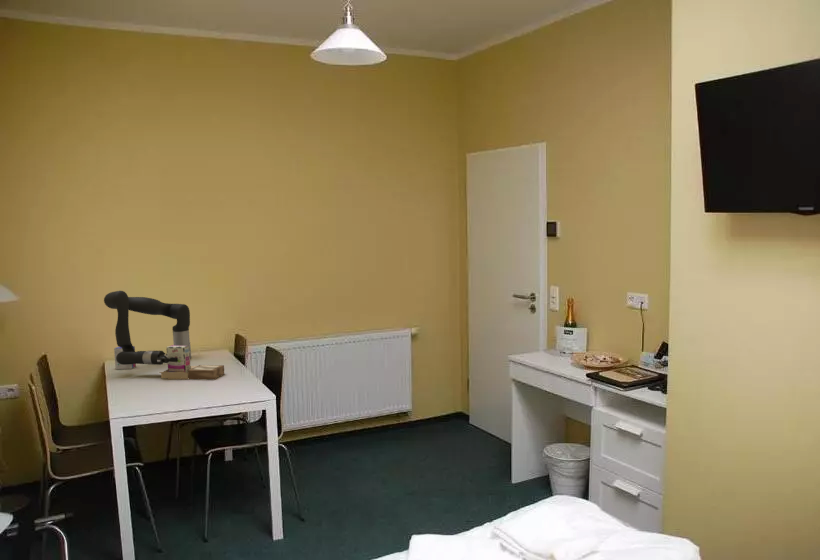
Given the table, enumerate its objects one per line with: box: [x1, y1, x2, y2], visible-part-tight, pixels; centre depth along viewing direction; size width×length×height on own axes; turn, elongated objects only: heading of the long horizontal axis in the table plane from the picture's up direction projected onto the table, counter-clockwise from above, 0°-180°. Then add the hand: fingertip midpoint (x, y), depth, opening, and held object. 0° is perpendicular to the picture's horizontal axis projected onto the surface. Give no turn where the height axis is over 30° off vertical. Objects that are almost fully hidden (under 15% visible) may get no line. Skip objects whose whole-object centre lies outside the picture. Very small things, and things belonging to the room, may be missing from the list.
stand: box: [188, 364, 225, 380], centre depth 343 cm, size 12×14×5 cm
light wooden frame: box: [159, 365, 198, 380], centre depth 345 cm, size 14×16×4 cm
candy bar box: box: [166, 344, 192, 373], centre depth 345 cm, size 11×5×16 cm, turn 73°
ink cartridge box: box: [113, 345, 137, 370], centre depth 368 cm, size 10×6×14 cm, turn 89°
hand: (181, 357), depth 344 cm, fingers open, 8 cm apart
